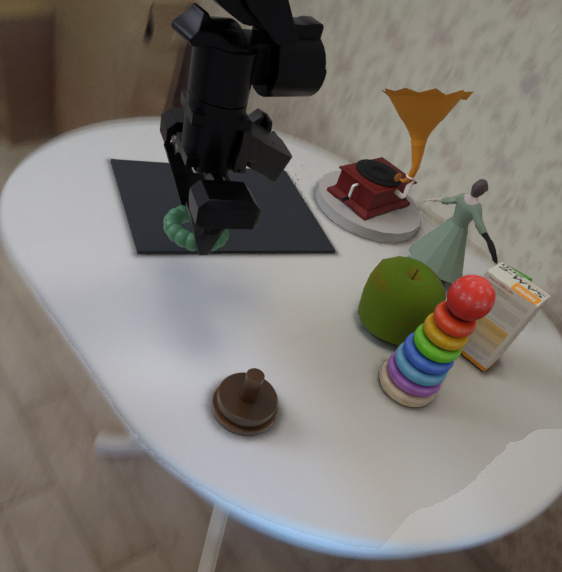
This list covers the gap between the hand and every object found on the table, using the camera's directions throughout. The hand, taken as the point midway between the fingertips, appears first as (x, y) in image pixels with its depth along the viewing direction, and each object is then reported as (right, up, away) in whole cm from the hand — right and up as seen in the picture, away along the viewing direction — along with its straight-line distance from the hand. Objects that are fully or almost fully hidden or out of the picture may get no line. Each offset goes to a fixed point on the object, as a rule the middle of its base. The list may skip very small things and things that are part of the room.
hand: (195, 233), depth 60 cm
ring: (0, 0, 0) cm, 0 cm away
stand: (+6, -20, 0) cm, 21 cm away
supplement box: (+38, -13, +18) cm, 44 cm away
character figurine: (+36, 0, +28) cm, 45 cm away
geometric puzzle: (+47, -4, +28) cm, 55 cm away
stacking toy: (+26, -18, +9) cm, 33 cm away
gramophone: (+26, +15, +38) cm, 48 cm away
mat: (0, +11, +25) cm, 28 cm away
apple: (+25, -9, +16) cm, 32 cm away
